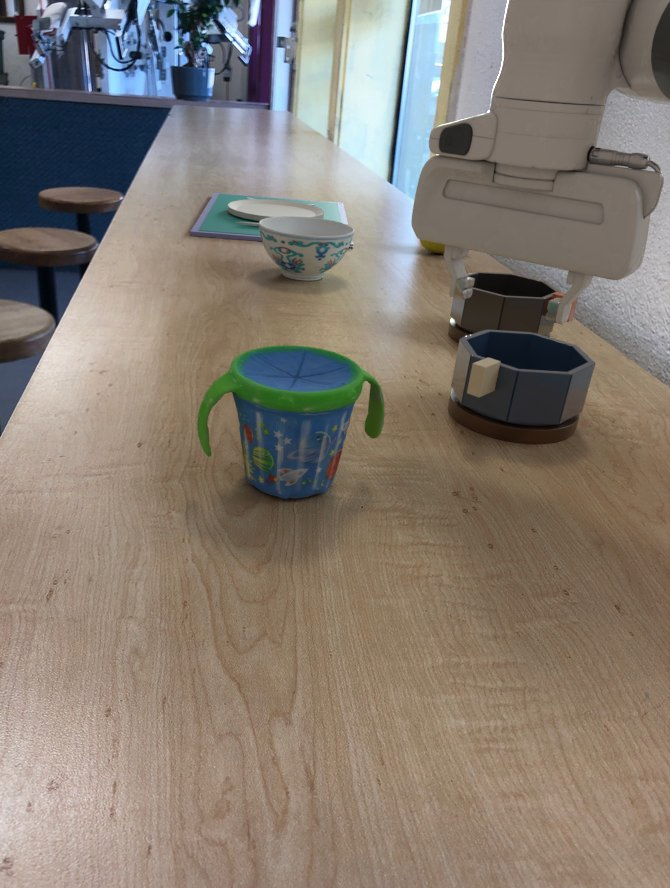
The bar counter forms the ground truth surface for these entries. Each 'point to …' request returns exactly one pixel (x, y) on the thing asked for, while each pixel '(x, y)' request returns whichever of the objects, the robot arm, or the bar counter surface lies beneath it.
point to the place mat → (257, 214)
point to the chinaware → (305, 244)
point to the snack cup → (293, 415)
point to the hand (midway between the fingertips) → (506, 309)
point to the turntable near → (510, 426)
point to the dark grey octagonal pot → (506, 304)
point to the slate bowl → (521, 377)
